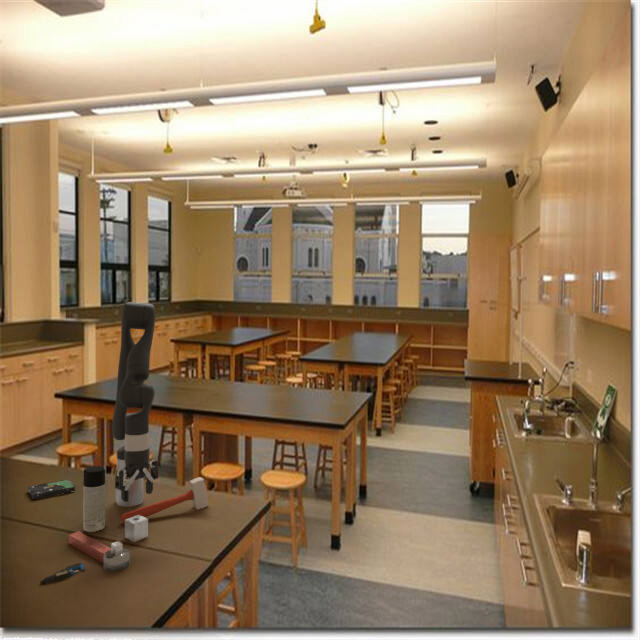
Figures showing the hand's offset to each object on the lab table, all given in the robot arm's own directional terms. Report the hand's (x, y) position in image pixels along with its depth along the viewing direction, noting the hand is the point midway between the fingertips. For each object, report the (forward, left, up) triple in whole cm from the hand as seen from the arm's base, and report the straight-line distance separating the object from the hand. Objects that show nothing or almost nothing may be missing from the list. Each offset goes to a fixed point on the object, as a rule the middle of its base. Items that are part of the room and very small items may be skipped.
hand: (137, 497), depth 171 cm
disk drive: (-58, +2, -14) cm, 60 cm away
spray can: (-16, -5, -13) cm, 22 cm away
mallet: (-7, +17, -14) cm, 23 cm away
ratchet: (+1, -14, -13) cm, 19 cm away
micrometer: (+4, -26, -14) cm, 30 cm away
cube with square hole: (0, 0, -13) cm, 13 cm away
